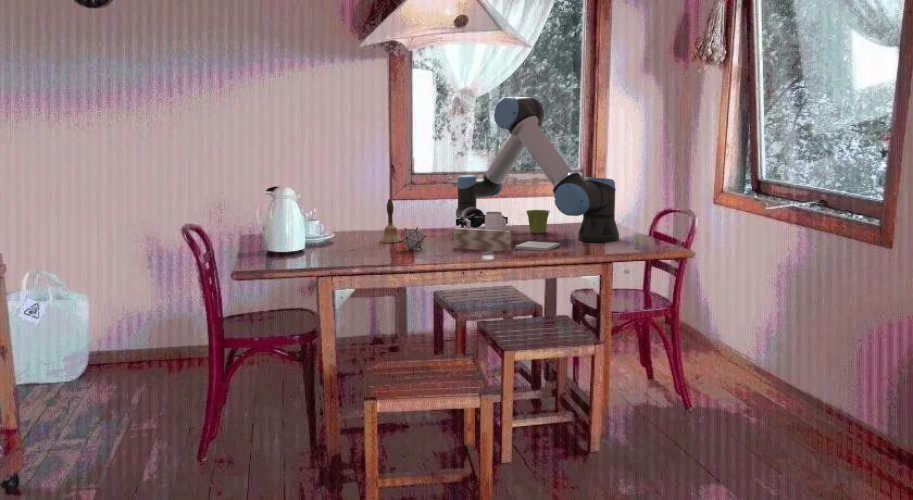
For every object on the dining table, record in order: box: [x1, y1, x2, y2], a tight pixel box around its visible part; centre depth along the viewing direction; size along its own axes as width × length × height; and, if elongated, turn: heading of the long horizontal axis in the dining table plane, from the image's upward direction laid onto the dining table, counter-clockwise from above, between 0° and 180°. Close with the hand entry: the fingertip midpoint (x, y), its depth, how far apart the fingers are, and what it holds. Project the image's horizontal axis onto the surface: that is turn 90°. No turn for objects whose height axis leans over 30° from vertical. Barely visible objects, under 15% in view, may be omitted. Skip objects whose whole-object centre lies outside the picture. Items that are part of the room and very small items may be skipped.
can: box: [484, 211, 504, 230], centre depth 307 cm, size 6×6×12 cm
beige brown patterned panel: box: [453, 227, 512, 253], centre depth 299 cm, size 21×2×7 cm, turn 63°
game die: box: [398, 226, 428, 252], centre depth 300 cm, size 9×8×10 cm
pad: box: [514, 240, 560, 252], centre depth 303 cm, size 12×12×1 cm
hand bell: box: [379, 198, 403, 244], centre depth 320 cm, size 8×8×16 cm
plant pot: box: [525, 209, 551, 234], centre depth 339 cm, size 9×9×9 cm
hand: (487, 223), depth 315 cm, fingers open, 13 cm apart
